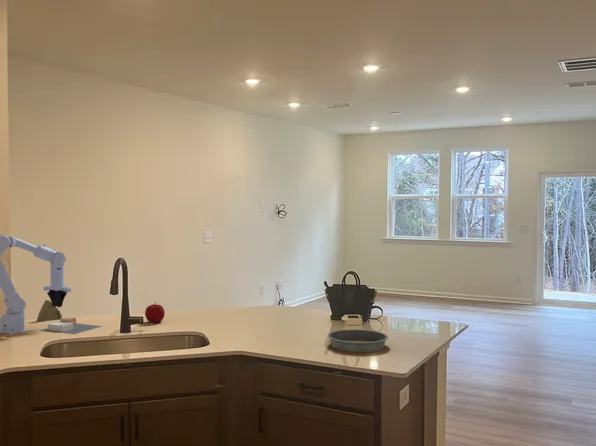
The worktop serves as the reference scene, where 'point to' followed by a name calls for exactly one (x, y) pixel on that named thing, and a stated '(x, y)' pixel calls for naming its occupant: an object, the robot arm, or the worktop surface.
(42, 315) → the rock
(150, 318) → the apple
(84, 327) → the mat
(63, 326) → the white flat block
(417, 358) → the worktop surface
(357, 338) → the cake pan
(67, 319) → the stub
